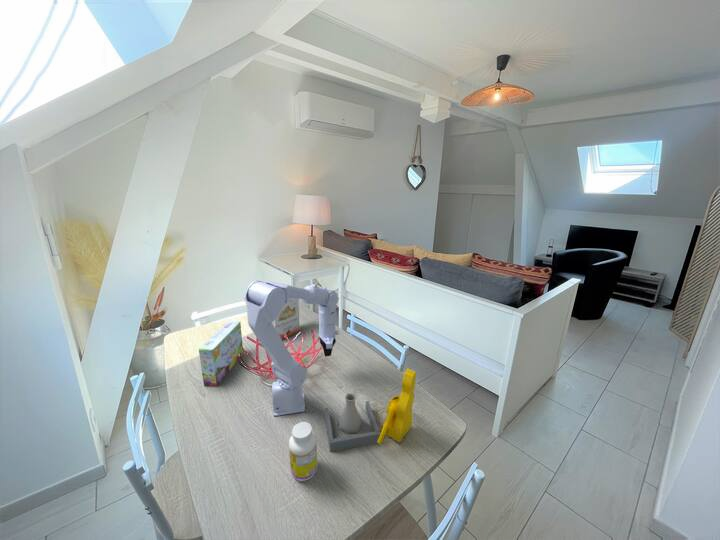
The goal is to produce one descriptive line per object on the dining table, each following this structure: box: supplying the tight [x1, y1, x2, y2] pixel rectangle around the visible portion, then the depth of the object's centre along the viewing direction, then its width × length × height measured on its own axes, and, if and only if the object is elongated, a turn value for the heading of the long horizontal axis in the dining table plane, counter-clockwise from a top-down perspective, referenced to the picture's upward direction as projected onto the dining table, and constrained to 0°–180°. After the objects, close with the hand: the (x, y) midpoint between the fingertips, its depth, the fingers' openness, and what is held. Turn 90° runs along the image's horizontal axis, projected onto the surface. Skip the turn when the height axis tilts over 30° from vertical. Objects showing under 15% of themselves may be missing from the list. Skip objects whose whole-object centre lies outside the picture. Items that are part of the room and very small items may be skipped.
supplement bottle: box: [288, 421, 318, 482], centre depth 69 cm, size 7×7×13 cm
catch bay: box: [324, 400, 381, 452], centre depth 83 cm, size 14×12×3 cm
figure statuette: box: [377, 368, 417, 445], centre depth 79 cm, size 18×8×22 cm, turn 147°
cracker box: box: [272, 298, 300, 340], centre depth 131 cm, size 14×6×21 cm, turn 142°
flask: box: [338, 392, 363, 434], centre depth 84 cm, size 7×7×10 cm
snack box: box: [198, 320, 244, 387], centre depth 108 cm, size 21×6×15 cm, turn 178°
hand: (327, 355), depth 103 cm, fingers closed
